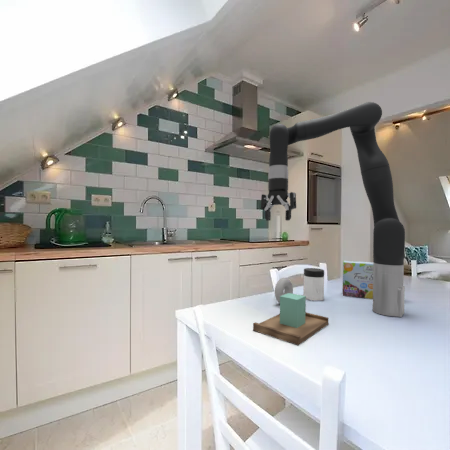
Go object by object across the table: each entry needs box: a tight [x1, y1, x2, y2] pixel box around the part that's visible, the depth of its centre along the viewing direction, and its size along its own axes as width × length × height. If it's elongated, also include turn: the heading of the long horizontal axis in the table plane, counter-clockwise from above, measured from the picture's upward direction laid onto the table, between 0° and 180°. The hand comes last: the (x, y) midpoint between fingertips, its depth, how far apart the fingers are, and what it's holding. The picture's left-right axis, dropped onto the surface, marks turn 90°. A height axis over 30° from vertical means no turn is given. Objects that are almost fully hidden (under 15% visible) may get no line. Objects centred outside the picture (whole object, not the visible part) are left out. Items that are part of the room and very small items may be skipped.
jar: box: [302, 267, 325, 302], centre depth 113 cm, size 9×8×12 cm
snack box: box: [341, 260, 373, 300], centre depth 116 cm, size 21×6×15 cm, turn 68°
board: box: [252, 311, 329, 346], centre depth 80 cm, size 14×20×2 cm
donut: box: [274, 277, 294, 304], centre depth 105 cm, size 10×4×10 cm, turn 135°
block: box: [279, 293, 307, 328], centre depth 80 cm, size 6×6×8 cm
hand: (277, 220), depth 105 cm, fingers open, 8 cm apart
